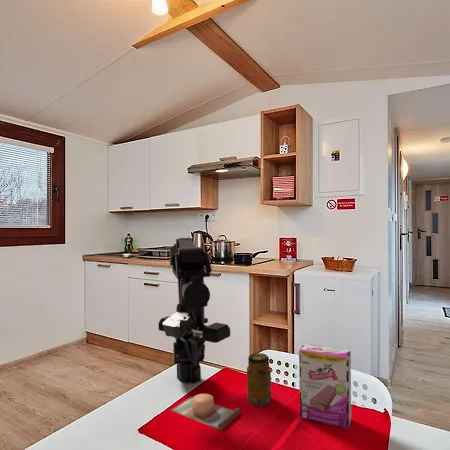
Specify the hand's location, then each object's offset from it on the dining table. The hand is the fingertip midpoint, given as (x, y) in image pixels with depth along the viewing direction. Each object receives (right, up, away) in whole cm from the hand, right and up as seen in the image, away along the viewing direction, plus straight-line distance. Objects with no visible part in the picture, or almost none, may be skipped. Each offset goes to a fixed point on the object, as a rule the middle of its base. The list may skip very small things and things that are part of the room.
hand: (193, 362), depth 85 cm
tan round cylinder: (+2, -11, -1) cm, 12 cm away
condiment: (+17, -12, +3) cm, 21 cm away
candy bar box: (+31, -12, -4) cm, 33 cm away
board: (+3, -12, -1) cm, 13 cm away
